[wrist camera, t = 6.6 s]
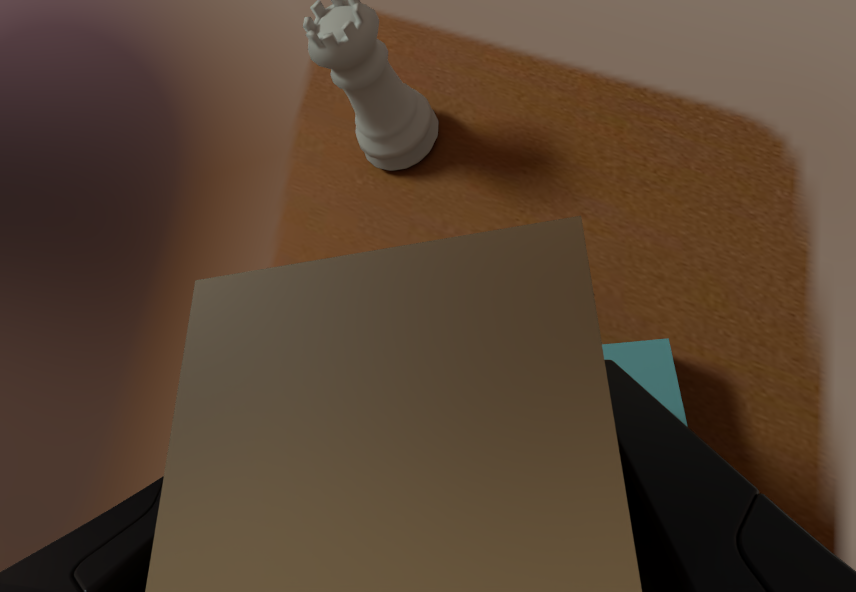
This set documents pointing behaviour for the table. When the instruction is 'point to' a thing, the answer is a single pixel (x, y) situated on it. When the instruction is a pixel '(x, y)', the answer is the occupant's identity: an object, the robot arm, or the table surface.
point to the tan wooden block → (398, 426)
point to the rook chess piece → (371, 85)
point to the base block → (650, 370)
